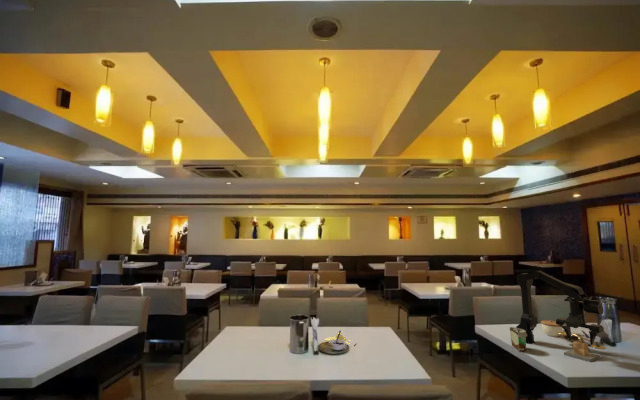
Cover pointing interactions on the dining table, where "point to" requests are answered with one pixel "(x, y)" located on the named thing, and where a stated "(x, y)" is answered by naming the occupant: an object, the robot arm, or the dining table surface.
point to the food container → (518, 339)
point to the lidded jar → (551, 328)
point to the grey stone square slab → (587, 358)
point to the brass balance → (597, 344)
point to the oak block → (580, 348)
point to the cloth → (339, 338)
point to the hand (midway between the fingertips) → (580, 342)
